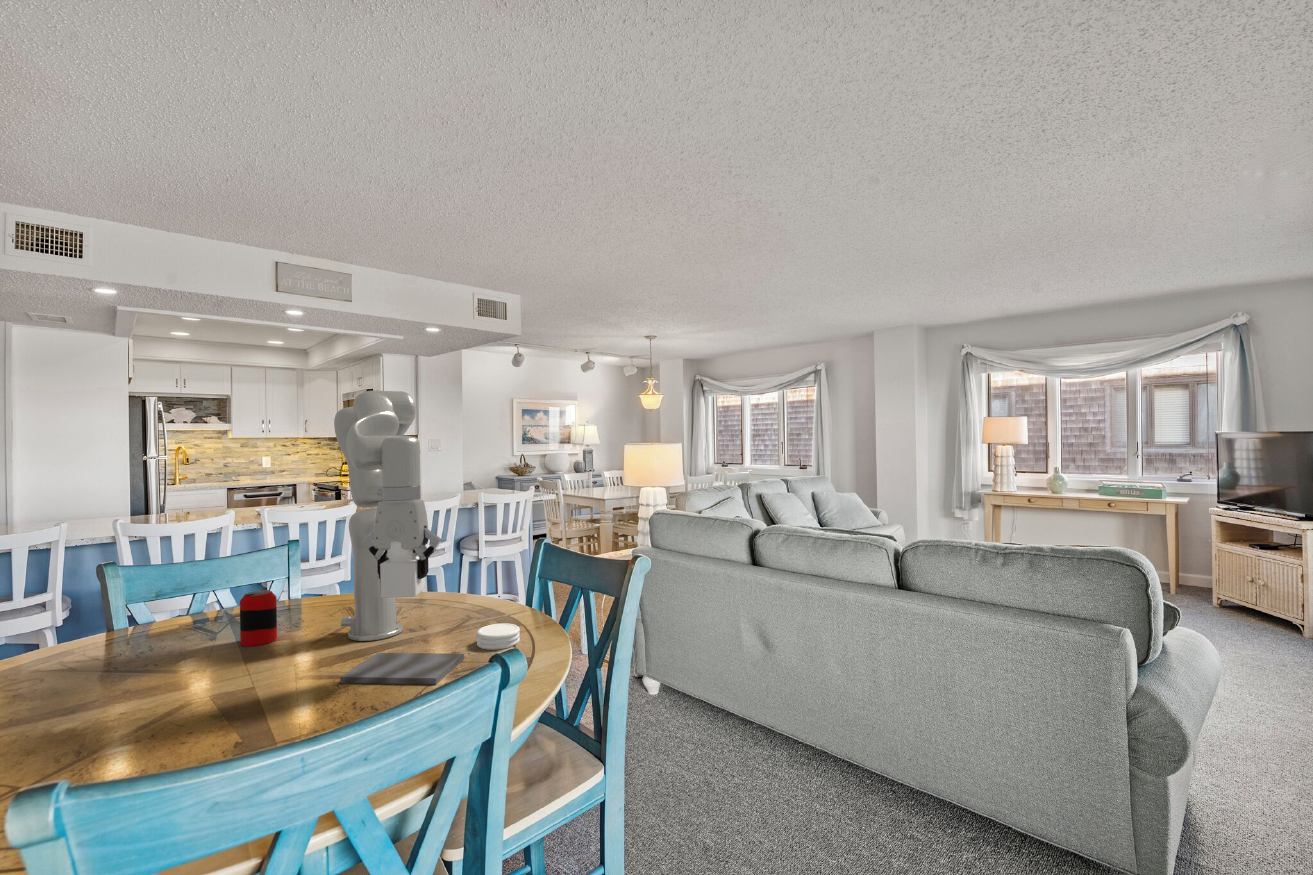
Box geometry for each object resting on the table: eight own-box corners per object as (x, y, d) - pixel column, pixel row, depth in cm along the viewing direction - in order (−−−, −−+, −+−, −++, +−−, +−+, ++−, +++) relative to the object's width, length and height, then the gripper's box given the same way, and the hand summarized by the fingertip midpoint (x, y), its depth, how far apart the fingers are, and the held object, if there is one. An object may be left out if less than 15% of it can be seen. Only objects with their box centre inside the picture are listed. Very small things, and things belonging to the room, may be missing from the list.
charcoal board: (340, 682, 124) (340, 676, 124) (377, 657, 138) (377, 652, 138) (436, 684, 123) (436, 678, 123) (464, 658, 137) (464, 653, 137)
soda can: (233, 645, 149) (232, 595, 149) (263, 635, 156) (262, 588, 156) (254, 648, 146) (253, 598, 146) (284, 638, 153) (283, 590, 153)
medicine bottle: (391, 589, 134) (390, 534, 134) (425, 588, 134) (424, 533, 134) (379, 598, 127) (378, 540, 127) (415, 597, 127) (414, 539, 127)
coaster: (508, 652, 141) (507, 636, 141) (468, 649, 143) (468, 634, 143) (527, 638, 151) (526, 623, 151) (489, 635, 153) (489, 621, 153)
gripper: (352, 496, 128) (353, 581, 128) (433, 496, 126) (435, 582, 126) (372, 493, 135) (373, 573, 135) (448, 492, 134) (450, 573, 134)
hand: (403, 577), depth 131 cm, fingers closed on medicine bottle, 7 cm apart
